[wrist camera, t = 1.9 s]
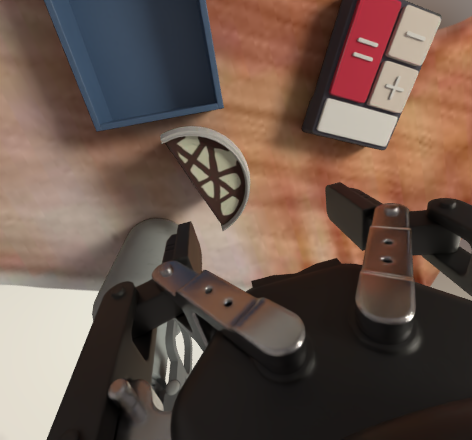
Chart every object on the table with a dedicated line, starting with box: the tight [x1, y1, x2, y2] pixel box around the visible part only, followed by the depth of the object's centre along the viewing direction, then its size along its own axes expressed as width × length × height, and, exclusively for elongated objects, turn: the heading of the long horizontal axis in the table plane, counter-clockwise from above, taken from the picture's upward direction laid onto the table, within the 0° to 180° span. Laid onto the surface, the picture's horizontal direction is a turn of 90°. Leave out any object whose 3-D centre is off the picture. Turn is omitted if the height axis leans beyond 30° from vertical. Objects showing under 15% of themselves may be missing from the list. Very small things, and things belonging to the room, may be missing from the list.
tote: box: [44, 0, 224, 131], centre depth 26 cm, size 14×15×5 cm
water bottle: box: [92, 219, 192, 411], centre depth 27 cm, size 10×10×28 cm
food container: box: [160, 126, 250, 231], centre depth 30 cm, size 12×6×10 cm, turn 30°
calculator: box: [302, 0, 442, 150], centre depth 31 cm, size 11×4×15 cm
